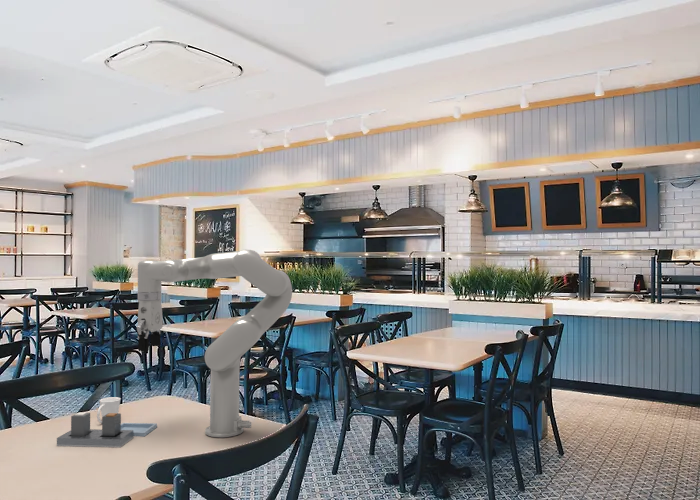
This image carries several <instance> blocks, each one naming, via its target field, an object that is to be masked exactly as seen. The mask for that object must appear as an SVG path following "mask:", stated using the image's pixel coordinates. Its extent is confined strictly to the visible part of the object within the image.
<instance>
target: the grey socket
mask: <svg viewBox="0 0 700 500" xmlns="http://www.w3.org/2000/svg"><path fill="white" fill-rule="evenodd" d="M101 418H102V419H101V421H102V423H101V429H94V428H93V429H92V428H90V433H89V434H88V435H86V436H84V437H81V436H71V429H70V430H69V431H67V432H65V433H63V434H62V435H60V436H58V437H56V447H75V448H76V447H82V448H87V447H88V448H121V447H123V446H124V445H125V444H127V443H128V442H130V441H131V440H132V439H134V436H133V430H121V424H122V413H119V412H118V413H108V414H106V415H105V416H103V417H102V416H101Z"/></svg>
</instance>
